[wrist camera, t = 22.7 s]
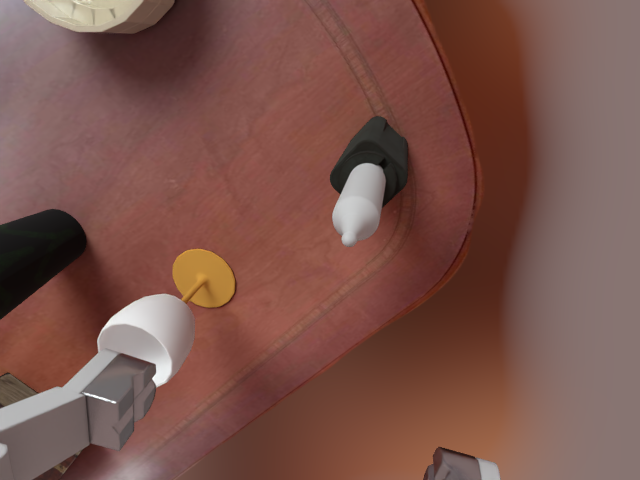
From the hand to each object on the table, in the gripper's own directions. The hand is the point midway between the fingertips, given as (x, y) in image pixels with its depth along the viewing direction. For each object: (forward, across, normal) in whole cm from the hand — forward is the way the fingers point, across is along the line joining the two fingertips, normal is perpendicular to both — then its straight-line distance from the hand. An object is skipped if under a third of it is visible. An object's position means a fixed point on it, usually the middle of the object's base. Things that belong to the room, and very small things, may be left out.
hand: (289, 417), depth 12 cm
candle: (+37, 0, 0) cm, 37 cm away
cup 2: (+37, +18, +23) cm, 47 cm away
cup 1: (+37, +39, +22) cm, 58 cm away
